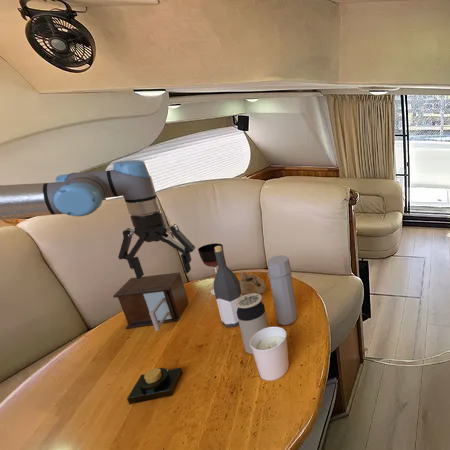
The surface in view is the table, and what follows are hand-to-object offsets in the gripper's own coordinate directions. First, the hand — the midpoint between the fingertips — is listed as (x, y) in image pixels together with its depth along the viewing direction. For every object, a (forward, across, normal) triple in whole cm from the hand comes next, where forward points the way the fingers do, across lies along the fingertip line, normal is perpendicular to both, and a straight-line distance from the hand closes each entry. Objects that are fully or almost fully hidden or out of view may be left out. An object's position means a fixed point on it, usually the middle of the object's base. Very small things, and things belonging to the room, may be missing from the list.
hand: (164, 273), depth 102 cm
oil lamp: (+23, -21, -18) cm, 36 cm away
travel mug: (+23, -27, +16) cm, 39 cm away
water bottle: (+23, -35, +4) cm, 42 cm away
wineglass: (+23, -7, -24) cm, 34 cm away
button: (+19, -2, +26) cm, 32 cm away
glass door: (+21, +8, -1) cm, 23 cm away
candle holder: (+23, -33, +28) cm, 49 cm away
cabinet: (+22, +11, -12) cm, 28 cm away
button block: (+22, -2, +26) cm, 34 cm away
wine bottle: (+23, -17, 0) cm, 28 cm away
